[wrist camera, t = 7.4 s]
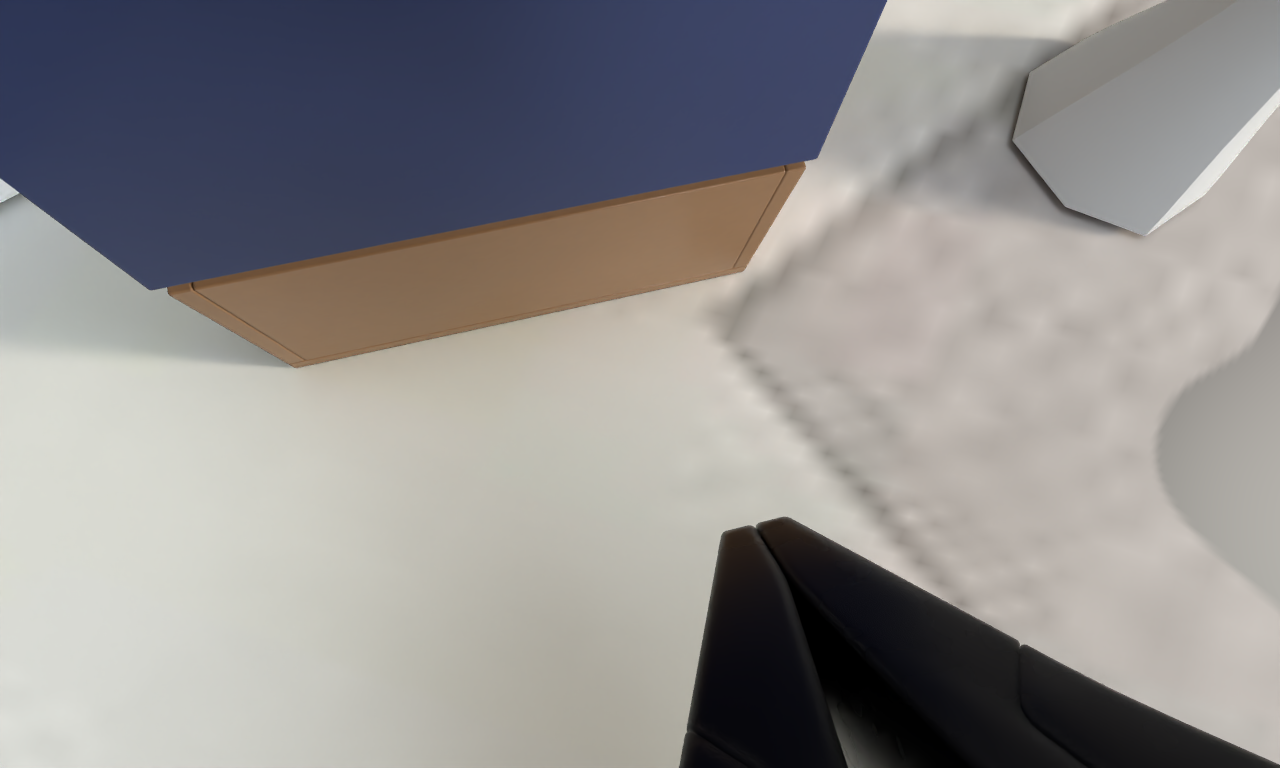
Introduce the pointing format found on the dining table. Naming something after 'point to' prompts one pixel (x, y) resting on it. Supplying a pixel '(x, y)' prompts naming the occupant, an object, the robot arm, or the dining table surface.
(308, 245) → the flap
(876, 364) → the dining table surface
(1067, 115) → the flask
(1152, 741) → the robot arm
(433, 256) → the carton
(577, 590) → the dining table surface
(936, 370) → the dining table surface
